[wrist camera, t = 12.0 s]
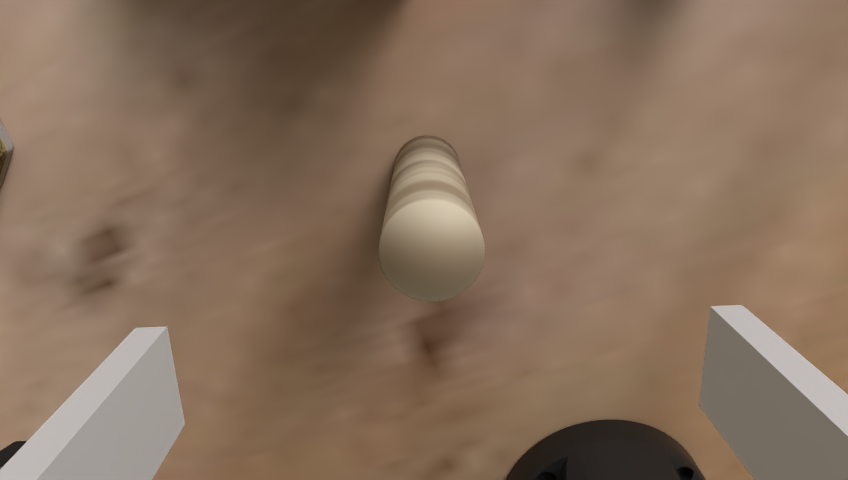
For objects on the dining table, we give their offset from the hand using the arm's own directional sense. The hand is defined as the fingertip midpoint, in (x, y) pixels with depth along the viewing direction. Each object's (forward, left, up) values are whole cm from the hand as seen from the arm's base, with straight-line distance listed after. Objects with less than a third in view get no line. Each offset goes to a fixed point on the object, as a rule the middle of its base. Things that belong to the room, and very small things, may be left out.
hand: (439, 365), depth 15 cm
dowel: (0, 0, -25) cm, 25 cm away
